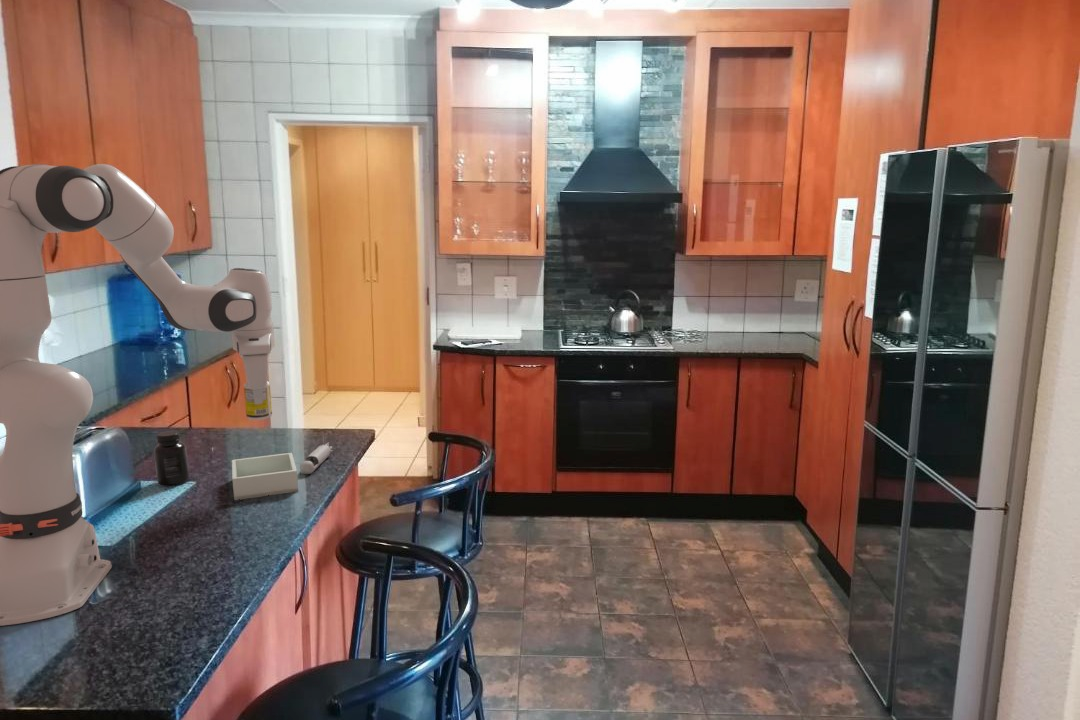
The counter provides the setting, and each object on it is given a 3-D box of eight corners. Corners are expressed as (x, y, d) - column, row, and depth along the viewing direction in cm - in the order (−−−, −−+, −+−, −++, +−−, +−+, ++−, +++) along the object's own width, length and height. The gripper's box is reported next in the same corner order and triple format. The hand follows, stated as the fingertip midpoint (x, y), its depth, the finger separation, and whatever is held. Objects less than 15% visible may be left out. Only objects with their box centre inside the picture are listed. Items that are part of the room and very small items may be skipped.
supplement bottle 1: (195, 477, 177) (190, 429, 175) (179, 487, 171) (173, 438, 168) (168, 476, 178) (163, 428, 176) (151, 486, 171) (145, 437, 169)
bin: (298, 491, 168) (296, 470, 167) (234, 500, 163) (232, 479, 162) (293, 472, 181) (292, 452, 180) (233, 479, 176) (231, 459, 175)
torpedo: (315, 476, 178) (313, 451, 177) (296, 476, 178) (294, 450, 177) (337, 452, 196) (336, 429, 194) (320, 452, 196) (319, 428, 195)
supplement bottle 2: (257, 413, 172) (254, 370, 170) (277, 415, 170) (274, 372, 168) (240, 419, 167) (237, 375, 165) (260, 421, 165) (257, 377, 163)
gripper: (237, 334, 173) (242, 390, 176) (238, 349, 155) (244, 412, 157) (266, 332, 175) (270, 388, 178) (270, 347, 157) (275, 409, 160)
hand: (258, 399), depth 168 cm, fingers closed on supplement bottle 2, 6 cm apart
